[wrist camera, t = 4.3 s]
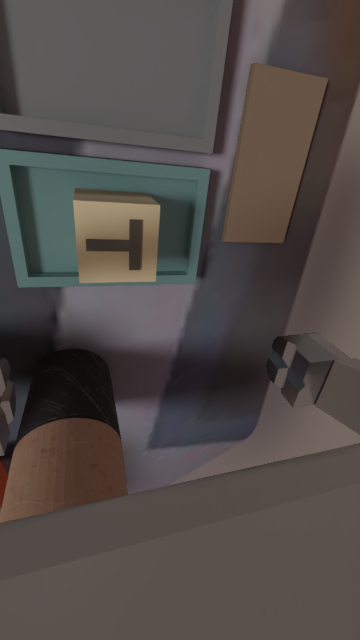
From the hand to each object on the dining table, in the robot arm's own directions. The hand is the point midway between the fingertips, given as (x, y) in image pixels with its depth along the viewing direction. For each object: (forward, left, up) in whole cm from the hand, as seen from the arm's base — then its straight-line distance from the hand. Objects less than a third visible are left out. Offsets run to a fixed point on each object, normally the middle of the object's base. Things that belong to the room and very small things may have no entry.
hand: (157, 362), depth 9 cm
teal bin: (0, 0, -17) cm, 17 cm away
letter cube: (0, 0, -17) cm, 17 cm away
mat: (-5, +12, -17) cm, 22 cm away
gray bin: (-10, 0, -17) cm, 20 cm away
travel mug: (+15, -4, -17) cm, 23 cm away
